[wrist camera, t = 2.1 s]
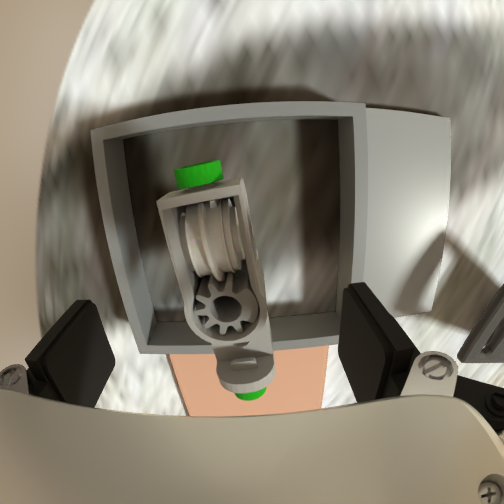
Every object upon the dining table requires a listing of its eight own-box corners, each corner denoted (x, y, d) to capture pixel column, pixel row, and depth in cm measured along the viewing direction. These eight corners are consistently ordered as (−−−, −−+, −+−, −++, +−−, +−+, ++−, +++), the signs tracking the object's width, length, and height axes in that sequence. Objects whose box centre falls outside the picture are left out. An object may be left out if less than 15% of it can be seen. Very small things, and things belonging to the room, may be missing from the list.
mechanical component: (229, 300, 22) (218, 407, 12) (198, 158, 18) (146, 177, 9) (270, 293, 21) (282, 400, 12) (244, 149, 18) (240, 157, 8)
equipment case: (444, 118, 17) (468, 118, 14) (426, 306, 22) (443, 325, 19) (111, 130, 17) (90, 129, 14) (150, 330, 23) (139, 353, 20)
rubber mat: (328, 327, 23) (329, 332, 22) (316, 426, 28) (317, 430, 27) (167, 337, 23) (165, 341, 22) (198, 432, 28) (197, 436, 27)
